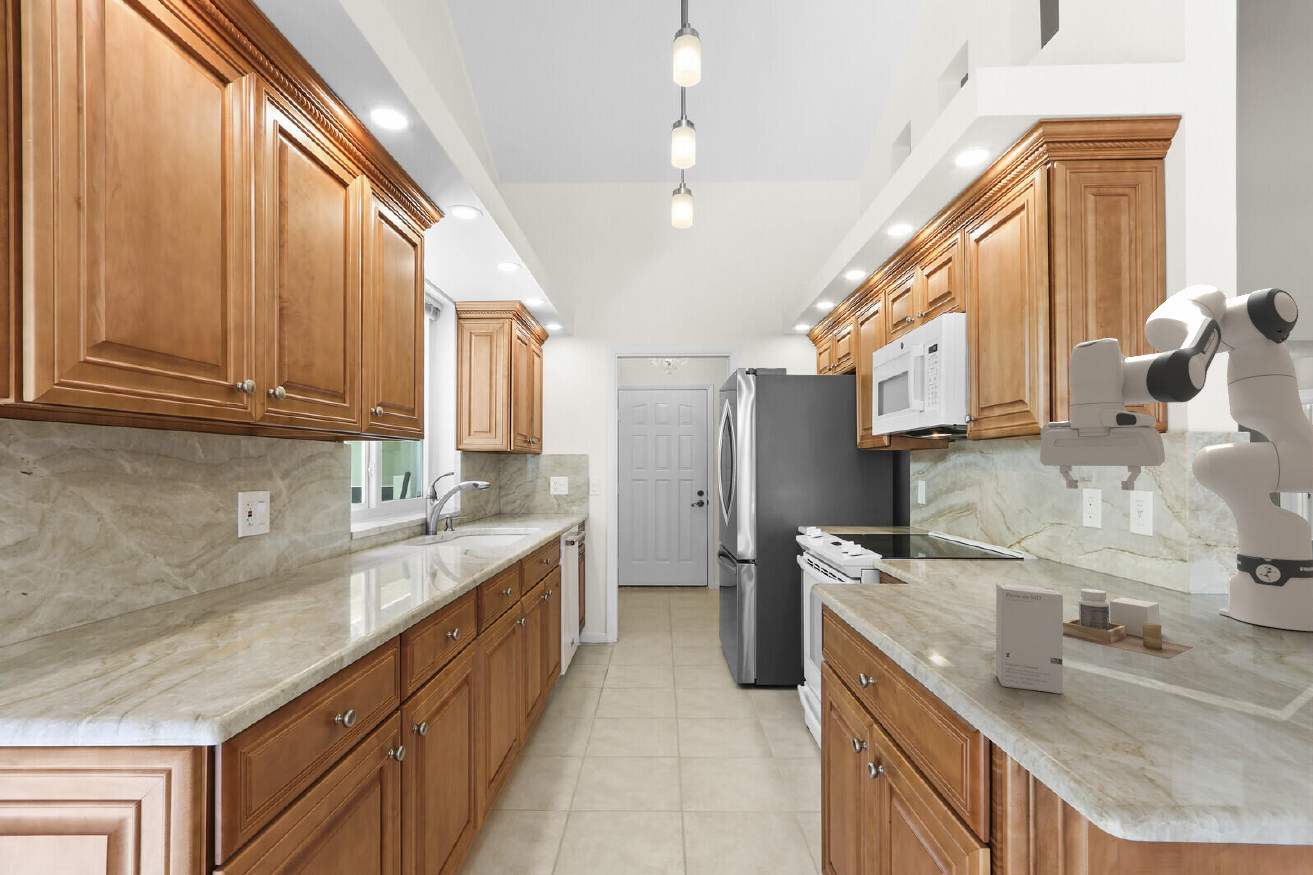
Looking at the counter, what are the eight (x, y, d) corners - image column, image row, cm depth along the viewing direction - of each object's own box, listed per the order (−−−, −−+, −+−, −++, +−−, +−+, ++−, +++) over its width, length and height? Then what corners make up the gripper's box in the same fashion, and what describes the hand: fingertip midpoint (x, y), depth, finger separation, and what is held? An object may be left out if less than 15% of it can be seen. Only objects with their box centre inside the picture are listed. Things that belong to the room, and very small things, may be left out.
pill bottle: (1115, 639, 112) (1113, 593, 113) (1086, 637, 113) (1085, 592, 114) (1102, 632, 117) (1100, 588, 117) (1074, 630, 118) (1073, 587, 118)
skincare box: (1001, 687, 91) (999, 588, 92) (995, 674, 96) (993, 581, 97) (1066, 695, 88) (1063, 593, 88) (1056, 681, 93) (1053, 585, 94)
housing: (1123, 632, 121) (1122, 597, 121) (1160, 639, 116) (1159, 603, 116) (1110, 636, 118) (1109, 601, 118) (1148, 644, 113) (1147, 607, 113)
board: (1084, 631, 122) (1084, 605, 122) (1193, 653, 107) (1192, 624, 108) (1056, 640, 115) (1056, 613, 115) (1168, 666, 101) (1167, 634, 101)
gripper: (1033, 422, 126) (1034, 487, 125) (1153, 415, 109) (1156, 491, 108) (1047, 423, 129) (1049, 487, 129) (1166, 417, 112) (1169, 491, 112)
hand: (1099, 489), depth 118 cm, fingers open, 8 cm apart
